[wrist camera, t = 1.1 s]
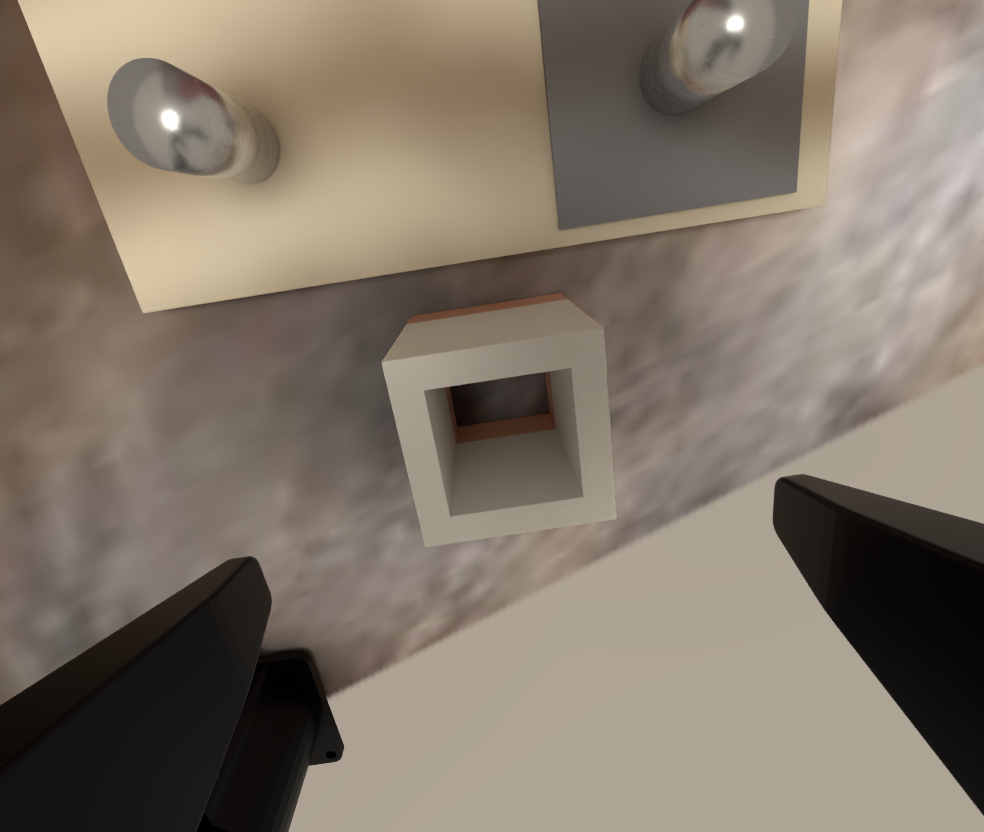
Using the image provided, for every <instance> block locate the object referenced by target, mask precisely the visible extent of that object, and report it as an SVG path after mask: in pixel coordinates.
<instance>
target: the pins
mask: <svg viewBox="0 0 984 832" xmlns="http://www.w3.org/2000/svg"><path fill="white" fill-rule="evenodd" d="M798 12H799V0H692V1H691V2H690V3H689V4H688V5H687V6H686V7H685V8H684V9H683V10H682V11H681V12H680V13H679V14H678V15H677V16H676V18H675V19H674V20H673V21H672V22H671V23H670V24H669V25H668V26H667V27H666V28H665V29H664V30H663V31H662V32H661V33H660V34H659V35H658V36H657V37H656V38H655V39H654V40H653V41H652V42H651V43H650V45H649V46H648V48H647V49H646V51H645V53H644V55H643V58H642V61H641V64H640V70H639V83H640V88H641V92H642V94H643V96H644V98H645V100H646V102H647V103H648V104H649V105H650V106H651V107H652V108H653V109H654V110H656V111H658V112H660V113H662V114H667V115H677V114H681V113H683V112H686V111H688V110H690V109H692V108H694V107H695V106H697V105H699V104H701V103H703V102H705V101H707V100H709V99H711V98H713V97H714V96H716V95H718V94H720V93H722V92H724V91H726V90H728V89H730V88H731V87H733V86H735V85H737V84H739V83H741V82H743V81H745V80H747V79H749V78H750V77H752V76H754V75H756V74H758V73H760V72H762V71H763V70H765V69H767V68H768V67H769V66H771V65H772V64H773V63H774V62H775V61H776V60H777V59H778V58H779V57H780V56H781V55H782V53H783V52H784V51H785V49H786V48H787V46H788V44H789V42H790V40H791V38H792V36H793V34H794V31H795V28H796V24H797V19H798ZM107 109H108V114H109V118H110V122H111V125H112V127H113V129H114V132H115V133H116V135H117V137H118V139H119V140H120V141H121V143H122V144H123V145H124V147H125V148H126V149H127V150H128V151H129V152H130V153H131V154H132V155H133V156H134V157H136V158H137V159H138V160H140V161H141V162H143V163H145V164H146V165H149V166H151V167H153V168H156V169H160V170H166V171H171V172H177V173H183V174H189V175H194V176H200V177H206V178H212V179H218V180H223V181H229V182H235V183H241V184H248V185H251V184H258V183H261V182H263V181H265V180H267V179H268V178H269V177H270V176H271V175H272V174H273V173H274V171H275V170H276V168H277V166H278V163H279V159H280V143H279V139H278V136H277V133H276V131H275V129H274V127H273V125H272V124H271V122H270V121H269V120H268V119H267V118H266V117H265V116H264V115H263V114H262V113H261V112H260V111H258V110H257V109H255V108H253V107H251V106H249V105H247V104H246V103H244V102H242V101H240V100H238V99H236V98H234V97H232V96H230V95H228V94H227V93H225V92H223V91H221V90H219V89H217V88H215V87H213V86H211V85H210V84H208V83H206V82H204V81H202V80H200V79H198V78H196V77H194V76H192V75H191V74H189V73H187V72H185V71H183V70H181V69H179V68H177V67H175V66H174V65H172V64H170V63H168V62H165V61H162V60H159V59H155V58H139V59H135V60H132V61H130V62H127V63H126V64H124V65H123V66H122V67H121V68H120V69H118V70H117V72H116V73H115V75H114V76H113V78H112V80H111V82H110V85H109V88H108V94H107Z"/></svg>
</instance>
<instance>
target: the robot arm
mask: <svg viewBox="0 0 984 832" xmlns="http://www.w3.org/2000/svg"><path fill="white" fill-rule="evenodd" d="M773 525H774V528H775V531H776V533H777V535H778V537H779V538H780V540H781V542H782V543H783V545H784V547H785V548H786V550H787V551H788V553H789V554H790V556H791V558H792V559H793V561H794V563H795V564H796V566H797V567H798V569H799V571H800V572H801V574H802V575H803V577H804V579H805V580H806V582H807V583H808V585H809V587H810V588H811V590H812V591H813V593H814V595H815V596H816V598H817V599H818V601H819V602H820V604H821V605H822V607H823V608H824V610H825V611H826V612H827V614H828V615H829V616H830V618H831V619H832V621H833V622H834V623H835V624H836V626H837V627H838V628H839V630H840V631H841V632H842V634H843V635H844V636H845V638H846V639H847V640H848V641H849V643H850V644H851V645H852V646H853V648H854V649H855V650H856V652H857V653H858V654H859V655H860V657H861V658H862V659H863V661H864V662H865V663H866V665H867V666H868V667H869V668H870V670H871V671H872V672H873V674H874V675H875V676H876V677H877V679H878V680H879V681H880V683H881V684H882V685H883V687H884V688H885V689H886V690H887V692H888V693H889V694H890V696H891V697H892V698H893V699H894V701H895V702H896V703H897V704H898V706H899V707H900V708H901V710H902V711H903V712H904V714H905V715H906V716H907V717H908V719H909V720H910V721H911V723H912V724H913V725H914V727H915V728H916V729H917V730H918V731H919V733H920V734H921V736H922V737H923V738H924V739H925V740H926V742H927V743H928V745H929V746H930V747H931V748H932V750H933V751H934V752H935V754H936V755H937V756H938V757H939V759H940V760H941V761H942V763H943V764H944V765H945V767H946V768H947V769H948V770H949V772H950V773H951V774H952V775H953V777H954V778H955V779H956V780H957V782H958V783H959V785H960V786H961V787H962V788H963V790H964V791H965V792H966V793H967V795H968V796H969V797H970V799H971V800H972V801H973V802H974V804H975V805H976V806H977V808H978V809H979V810H980V812H981V813H982V814H983V816H984V524H982V523H979V522H975V521H972V520H968V519H965V518H961V517H957V516H954V515H950V514H946V513H942V512H939V511H936V510H932V509H928V508H925V507H921V506H918V505H914V504H910V503H906V502H903V501H900V500H896V499H892V498H889V497H885V496H881V495H877V494H874V493H870V492H866V491H863V490H859V489H856V488H852V487H849V486H845V485H841V484H838V483H834V482H831V481H827V480H823V479H820V478H816V477H813V476H809V475H805V474H799V475H792V476H786V477H781V478H779V479H778V480H777V482H776V484H775V490H774V506H773ZM271 604H272V598H271V593H270V590H269V588H268V585H267V582H266V580H265V577H264V575H263V572H262V569H261V567H260V564H259V562H258V561H257V559H256V558H254V557H252V556H248V557H241V558H234V559H230V560H227V561H226V562H224V563H222V564H221V565H219V566H218V567H216V568H215V569H213V570H212V571H210V572H208V573H207V574H205V575H204V576H202V577H201V578H199V579H197V580H196V581H194V582H193V583H191V584H190V585H188V586H186V587H185V588H183V589H182V590H180V591H179V592H177V593H175V594H174V595H172V596H171V597H169V598H168V599H166V600H165V601H163V602H161V603H160V604H158V605H157V606H155V607H154V608H152V609H150V610H149V611H147V612H146V613H144V614H143V615H141V616H139V617H138V618H136V619H135V620H133V621H132V622H130V623H128V624H127V625H125V626H124V627H122V628H121V629H119V630H118V631H116V632H114V633H113V634H111V635H110V636H108V637H107V638H105V639H103V640H102V641H100V642H99V643H97V644H96V645H94V646H92V647H91V648H89V649H88V650H86V651H85V652H83V653H82V654H80V655H78V656H77V657H75V658H74V659H72V660H71V661H69V662H67V663H66V664H64V665H63V666H61V667H60V668H58V669H56V670H55V671H53V672H52V673H50V674H49V675H47V676H45V677H44V678H42V679H41V680H39V681H38V682H36V683H35V684H33V685H31V686H30V687H28V688H27V689H25V690H24V691H22V692H20V693H19V694H17V695H16V696H14V697H13V698H11V699H9V700H8V701H6V702H5V703H3V704H2V705H0V832H288V830H289V827H290V824H291V821H292V818H293V814H294V811H295V808H296V805H297V801H298V798H299V794H300V791H301V788H302V785H303V781H304V778H305V775H306V772H307V768H308V766H309V765H317V764H323V763H330V762H336V761H338V760H340V759H341V757H342V754H343V750H344V744H343V742H342V739H341V737H340V734H339V731H338V728H337V725H336V723H335V720H334V717H333V715H332V712H331V709H330V707H329V704H328V701H327V699H326V696H325V693H324V690H323V688H322V685H321V682H320V680H319V677H318V674H317V672H316V669H315V666H314V663H313V661H312V658H311V657H310V655H309V654H307V653H306V652H303V651H293V652H286V653H279V654H272V655H265V656H259V652H260V648H261V644H262V641H263V637H264V633H265V629H266V626H267V622H268V618H269V614H270V610H271ZM298 663H300V664H298Z"/></svg>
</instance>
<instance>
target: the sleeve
mask: <svg viewBox="0 0 984 832" xmlns="http://www.w3.org/2000/svg"><path fill="white" fill-rule="evenodd" d="M381 363H382V367H383V371H384V376H385V380H386V384H387V388H388V393H389V397H390V401H391V405H392V409H393V414H394V418H395V422H396V426H397V431H398V435H399V439H400V443H401V448H402V452H403V456H404V460H405V464H406V469H407V473H408V477H409V481H410V486H411V490H412V494H413V498H414V503H415V507H416V511H417V515H418V520H419V524H420V528H421V532H422V536H423V541H424V545H425V548H426V547H432V546H439V545H446V544H453V543H460V542H466V541H473V540H480V539H487V538H494V537H501V536H507V535H514V534H521V533H528V532H535V531H541V530H548V529H555V528H562V527H569V526H576V525H582V524H589V523H596V522H603V521H610V520H616V519H617V513H616V498H615V483H614V469H613V454H612V439H611V424H610V410H609V395H608V380H607V365H606V350H605V336H604V327H602V326H601V325H600V324H599V323H597V322H596V321H595V320H594V319H592V318H591V317H590V316H589V315H587V314H586V313H585V312H583V311H582V310H581V309H580V308H578V307H577V306H576V305H575V304H573V303H572V302H571V301H570V300H568V299H567V298H566V297H565V296H563V295H562V294H561V293H556V294H549V295H543V296H536V297H530V298H524V299H517V300H511V301H504V302H498V303H492V304H485V305H479V306H472V307H466V308H460V309H453V310H447V311H440V312H434V313H428V314H421V315H415V316H412V317H411V318H410V320H409V321H408V323H407V324H406V326H405V327H404V329H403V330H402V332H401V333H400V335H399V336H398V338H397V339H396V341H395V342H394V344H393V345H392V347H391V348H390V350H389V351H388V353H387V354H386V356H385V357H384V359H383V360H382V362H381ZM541 372H545V378H546V386H547V395H548V404H549V413H546V414H539V415H533V416H526V417H519V418H513V419H506V420H500V421H493V422H486V423H480V424H473V425H467V426H460V427H457V423H456V418H455V413H454V407H453V402H452V397H451V391H450V386H456V385H463V384H469V383H476V382H483V381H489V380H496V379H502V378H509V377H515V376H522V375H528V374H535V373H541Z"/></svg>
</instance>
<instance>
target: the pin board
mask: <svg viewBox="0 0 984 832" xmlns="http://www.w3.org/2000/svg"><path fill="white" fill-rule="evenodd" d="M691 1H692V0H18V2H19V4H20V7H21V9H22V12H23V14H24V17H25V19H26V22H27V24H28V27H29V29H30V32H31V34H32V37H33V39H34V42H35V44H36V47H37V49H38V52H39V54H40V57H41V59H42V62H43V64H44V67H45V69H46V72H47V74H48V77H49V79H50V82H51V84H52V87H53V89H54V92H55V94H56V97H57V99H58V102H59V104H60V107H61V109H62V112H63V114H64V117H65V119H66V122H67V124H68V127H69V129H70V132H71V134H72V137H73V139H74V142H75V144H76V147H77V149H78V152H79V154H80V157H81V159H82V162H83V164H84V167H85V169H86V172H87V174H88V177H89V179H90V182H91V184H92V187H93V189H94V192H95V194H96V197H97V199H98V202H99V204H100V207H101V209H102V212H103V214H104V217H105V219H106V222H107V224H108V227H109V229H110V232H111V234H112V237H113V239H114V242H115V244H116V247H117V249H118V252H119V254H120V257H121V259H122V262H123V264H124V267H125V269H126V272H127V274H128V277H129V279H130V282H131V284H132V287H133V289H134V292H135V294H136V297H137V299H138V302H139V304H140V307H141V309H142V312H143V313H147V312H154V311H160V310H166V309H173V308H179V307H185V306H192V305H198V304H204V303H211V302H217V301H223V300H230V299H236V298H242V297H248V296H255V295H261V294H267V293H274V292H280V291H286V290H293V289H299V288H305V287H312V286H318V285H324V284H331V283H337V282H343V281H350V280H356V279H362V278H369V277H375V276H381V275H388V274H394V273H400V272H407V271H413V270H419V269H425V268H432V267H438V266H444V265H451V264H457V263H463V262H470V261H476V260H482V259H489V258H495V257H501V256H508V255H514V254H520V253H527V252H533V251H539V250H546V249H552V248H558V247H565V246H571V245H577V244H583V243H590V242H596V241H602V240H609V239H615V238H621V237H628V236H634V235H640V234H647V233H653V232H659V231H666V230H672V229H678V228H685V227H691V226H697V225H704V224H710V223H716V222H723V221H729V220H735V219H742V218H748V217H754V216H760V215H767V214H773V213H779V212H786V211H792V210H798V209H805V208H811V207H817V206H824V205H825V197H826V185H827V174H828V162H829V150H830V139H831V127H832V115H833V104H834V92H835V81H836V69H837V57H838V46H839V34H840V22H841V11H842V0H799V12H798V19H797V24H796V28H795V31H794V34H793V36H792V38H791V40H790V42H789V44H788V46H787V48H786V49H785V51H784V52H783V53H782V55H781V56H780V57H779V58H778V59H777V60H776V61H775V62H774V63H773V64H772V65H771V66H769V67H768V68H767V69H765V70H763V71H762V72H760V73H758V74H756V75H754V76H752V77H750V78H749V79H747V80H745V81H743V82H741V83H739V84H737V85H735V86H733V87H731V88H730V89H728V90H726V91H724V92H722V93H720V94H718V95H716V96H714V97H713V98H711V99H709V100H707V101H705V102H703V103H701V104H699V105H697V106H695V107H694V108H692V109H690V110H688V111H686V112H683V113H681V114H677V115H667V114H662V113H660V112H658V111H656V110H654V109H653V108H652V107H651V106H650V105H649V104H648V103H647V102H646V100H645V98H644V96H643V94H642V92H641V88H640V83H639V70H640V64H641V61H642V58H643V55H644V53H645V51H646V49H647V48H648V46H649V45H650V43H651V42H652V41H653V40H654V39H655V38H656V37H657V36H658V35H659V34H660V33H661V32H662V31H663V30H664V29H665V28H666V27H667V26H668V25H669V24H670V23H671V22H672V21H673V20H674V19H675V18H676V16H677V15H678V14H679V13H680V12H681V11H682V10H683V9H684V8H685V7H686V6H687V5H688V4H689V3H690V2H691ZM139 58H155V59H159V60H162V61H165V62H168V63H170V64H172V65H174V66H175V67H177V68H179V69H181V70H183V71H185V72H187V73H189V74H191V75H192V76H194V77H196V78H198V79H200V80H202V81H204V82H206V83H208V84H210V85H211V86H213V87H215V88H217V89H219V90H221V91H223V92H225V93H227V94H228V95H230V96H232V97H234V98H236V99H238V100H240V101H242V102H244V103H246V104H247V105H249V106H251V107H253V108H255V109H257V110H258V111H260V112H261V113H262V114H263V115H264V116H265V117H266V118H267V119H268V120H269V121H270V122H271V124H272V125H273V127H274V129H275V131H276V133H277V136H278V139H279V143H280V159H279V163H278V166H277V168H276V170H275V171H274V173H273V174H272V175H271V176H270V177H269V178H268V179H267V180H265V181H263V182H261V183H258V184H251V185H248V184H241V183H235V182H229V181H223V180H218V179H212V178H206V177H200V176H194V175H189V174H183V173H177V172H171V171H166V170H160V169H156V168H153V167H151V166H149V165H146V164H145V163H143V162H141V161H140V160H138V159H137V158H136V157H134V156H133V155H132V154H131V153H130V152H129V151H128V150H127V149H126V148H125V147H124V145H123V144H122V143H121V141H120V140H119V139H118V137H117V135H116V133H115V132H114V129H113V127H112V125H111V122H110V118H109V114H108V109H107V94H108V88H109V85H110V82H111V80H112V78H113V76H114V75H115V73H116V72H117V70H118V69H120V68H121V67H122V66H123V65H124V64H126V63H127V62H130V61H132V60H135V59H139Z"/></svg>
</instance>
